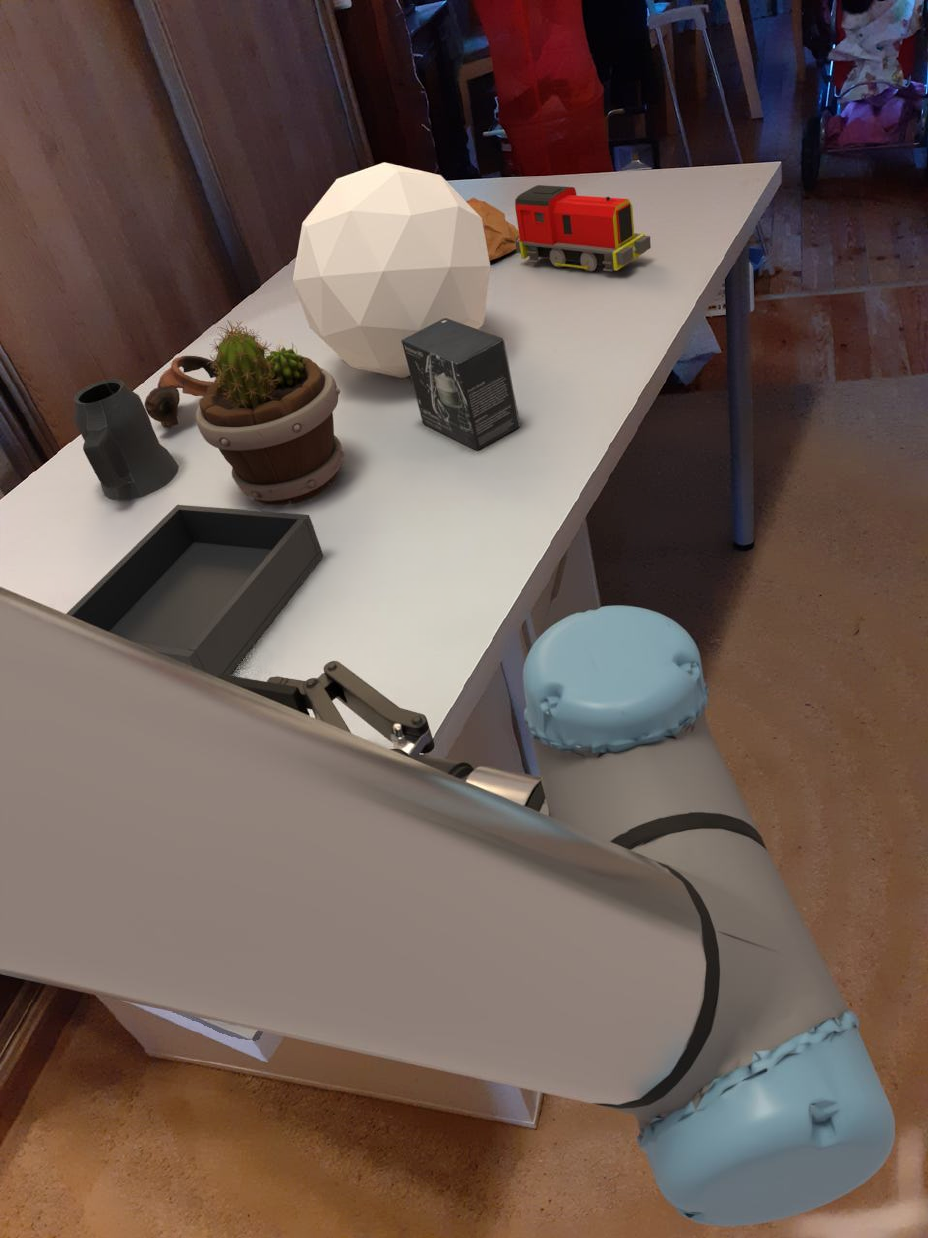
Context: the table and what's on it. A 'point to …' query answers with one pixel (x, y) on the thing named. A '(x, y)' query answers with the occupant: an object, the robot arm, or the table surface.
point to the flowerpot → (271, 419)
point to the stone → (495, 229)
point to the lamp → (389, 264)
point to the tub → (204, 583)
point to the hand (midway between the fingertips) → (165, 764)
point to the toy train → (577, 228)
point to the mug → (121, 441)
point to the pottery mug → (166, 396)
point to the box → (462, 382)
